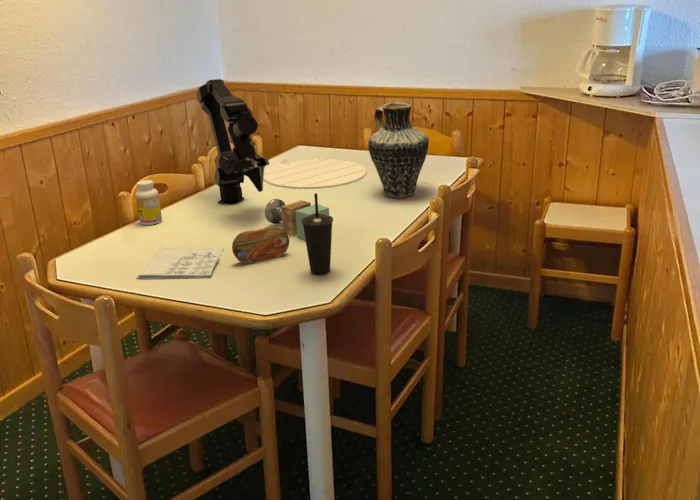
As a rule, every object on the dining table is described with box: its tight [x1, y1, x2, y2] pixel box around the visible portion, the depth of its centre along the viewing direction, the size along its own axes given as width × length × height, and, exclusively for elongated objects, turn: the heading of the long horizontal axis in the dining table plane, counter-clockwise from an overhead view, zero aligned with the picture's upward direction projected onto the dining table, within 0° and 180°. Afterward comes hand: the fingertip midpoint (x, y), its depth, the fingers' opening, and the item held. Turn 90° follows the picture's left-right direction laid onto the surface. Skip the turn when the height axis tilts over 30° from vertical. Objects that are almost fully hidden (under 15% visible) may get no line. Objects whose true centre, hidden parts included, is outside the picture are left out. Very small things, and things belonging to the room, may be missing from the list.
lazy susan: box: [263, 156, 367, 190], centre depth 247 cm, size 40×39×3 cm
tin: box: [231, 225, 290, 265], centre depth 170 cm, size 15×3×8 cm, turn 117°
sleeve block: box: [281, 200, 311, 237], centre depth 189 cm, size 4×8×8 cm, turn 136°
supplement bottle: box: [135, 179, 163, 226], centre depth 200 cm, size 7×7×13 cm
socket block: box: [295, 203, 330, 242], centre depth 184 cm, size 6×8×8 cm
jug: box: [367, 101, 429, 198], centre depth 214 cm, size 21×19×30 cm
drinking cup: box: [301, 193, 334, 276], centre depth 159 cm, size 8×8×20 cm
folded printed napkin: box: [135, 246, 225, 280], centre depth 171 cm, size 19×20×2 cm
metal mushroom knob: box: [264, 198, 296, 225], centre depth 192 cm, size 11×7×7 cm
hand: (260, 191), depth 198 cm, fingers closed
